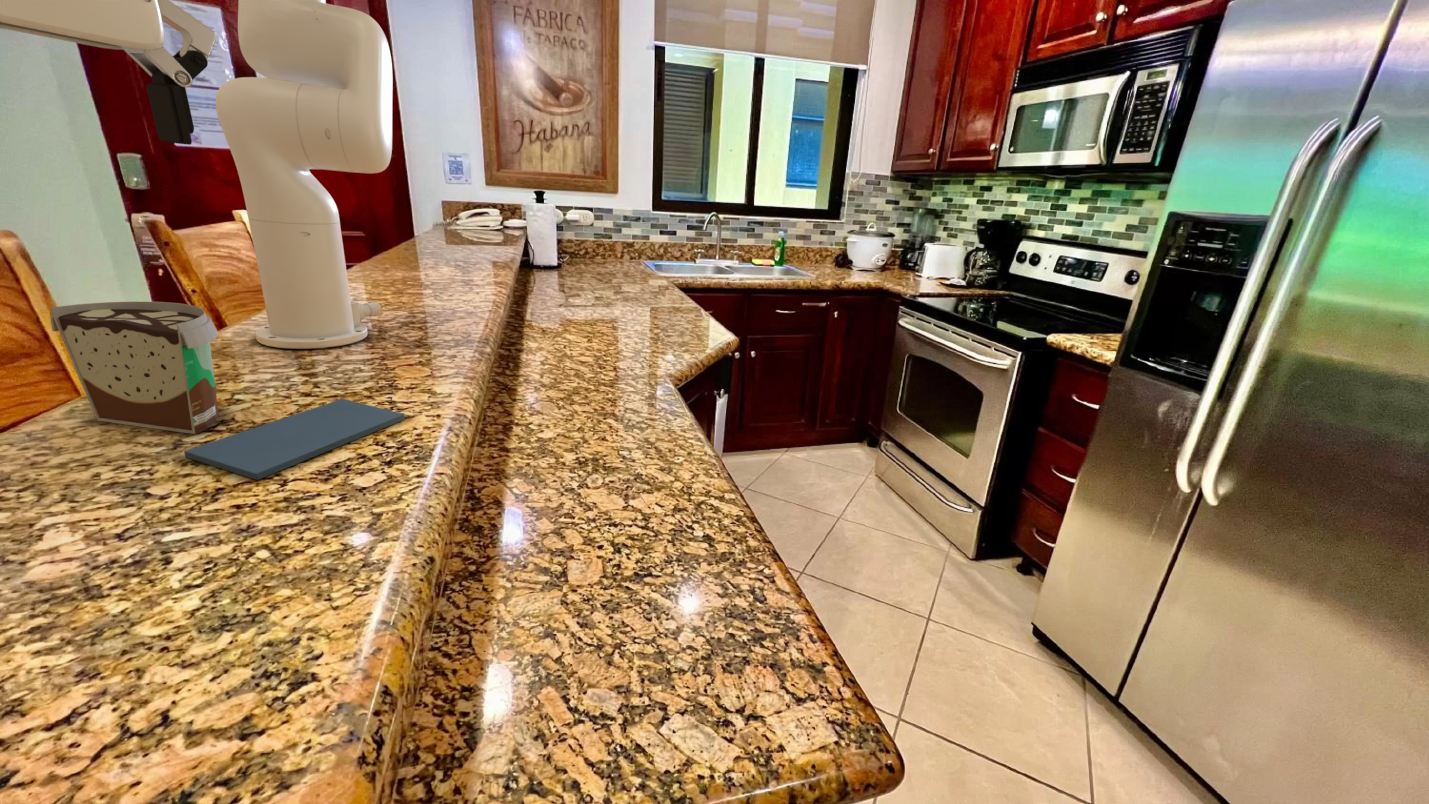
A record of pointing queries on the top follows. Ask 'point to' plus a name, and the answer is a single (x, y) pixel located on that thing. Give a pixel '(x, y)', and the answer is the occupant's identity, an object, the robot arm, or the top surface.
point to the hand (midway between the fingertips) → (88, 134)
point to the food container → (143, 362)
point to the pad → (293, 438)
